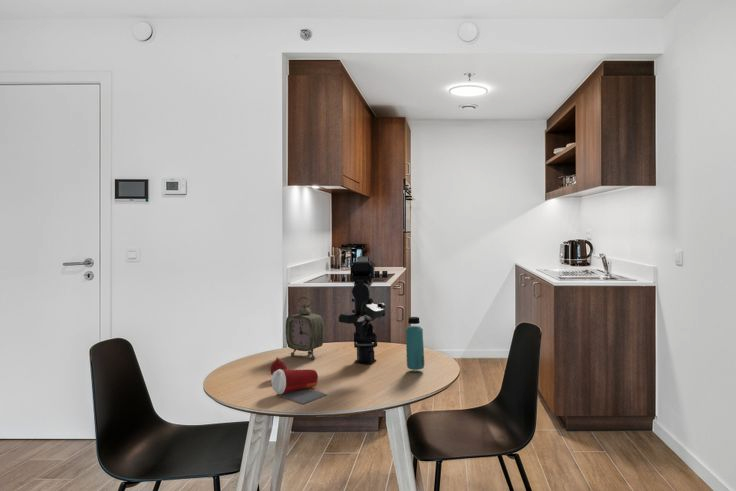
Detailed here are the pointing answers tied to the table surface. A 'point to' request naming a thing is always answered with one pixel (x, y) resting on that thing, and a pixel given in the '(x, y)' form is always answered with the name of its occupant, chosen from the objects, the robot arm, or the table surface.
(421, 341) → the beverage bottle
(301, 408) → the table surface
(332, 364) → the table surface
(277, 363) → the red rounded piece
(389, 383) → the table surface
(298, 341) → the tabletop clock
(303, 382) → the paper cup
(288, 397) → the mat
